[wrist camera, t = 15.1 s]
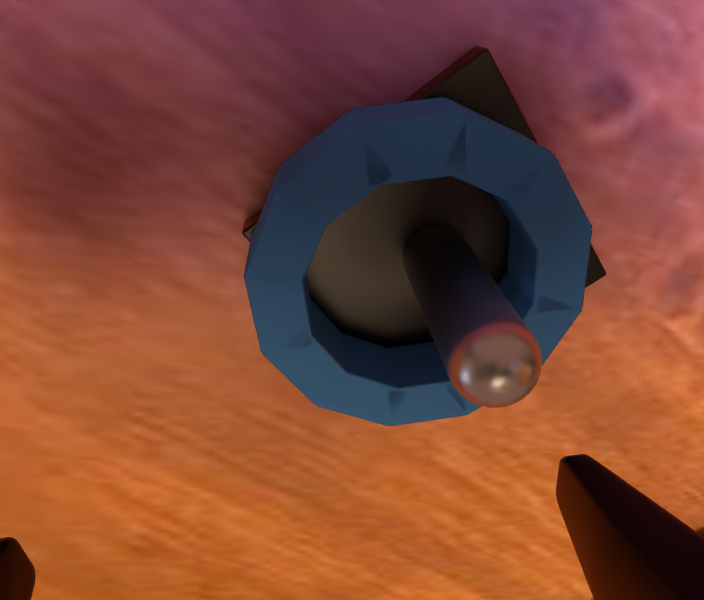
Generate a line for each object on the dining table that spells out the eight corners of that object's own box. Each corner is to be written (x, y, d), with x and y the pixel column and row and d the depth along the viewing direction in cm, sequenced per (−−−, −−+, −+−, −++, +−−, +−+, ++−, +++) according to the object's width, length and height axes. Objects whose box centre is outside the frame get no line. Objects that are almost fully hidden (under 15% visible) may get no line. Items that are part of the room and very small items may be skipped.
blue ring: (370, 421, 21) (379, 467, 19) (187, 235, 17) (173, 269, 15) (601, 280, 19) (638, 314, 17) (460, 23, 15) (488, 27, 12)
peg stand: (392, 387, 22) (439, 573, 15) (243, 221, 18) (208, 367, 11) (594, 263, 20) (760, 408, 13) (477, 44, 16) (624, 79, 9)
